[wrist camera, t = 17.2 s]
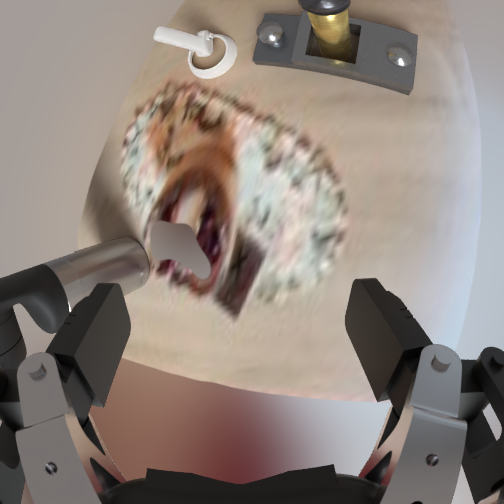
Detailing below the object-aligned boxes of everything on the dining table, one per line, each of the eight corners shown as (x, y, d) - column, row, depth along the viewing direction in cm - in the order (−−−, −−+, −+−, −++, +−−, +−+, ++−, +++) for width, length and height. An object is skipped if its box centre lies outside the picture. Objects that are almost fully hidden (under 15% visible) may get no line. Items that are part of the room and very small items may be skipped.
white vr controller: (146, 35, 30) (163, 6, 25) (217, 53, 37) (241, 30, 31) (137, 73, 31) (153, 44, 25) (214, 88, 37) (240, 67, 32)
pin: (314, 61, 29) (289, 4, 17) (320, 32, 28) (298, -30, 15) (351, 68, 28) (346, 11, 15) (356, 39, 27) (352, -24, 14)
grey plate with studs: (256, 64, 32) (247, 55, 29) (267, 18, 29) (260, 7, 26) (408, 95, 27) (413, 87, 24) (413, 44, 24) (418, 33, 21)
